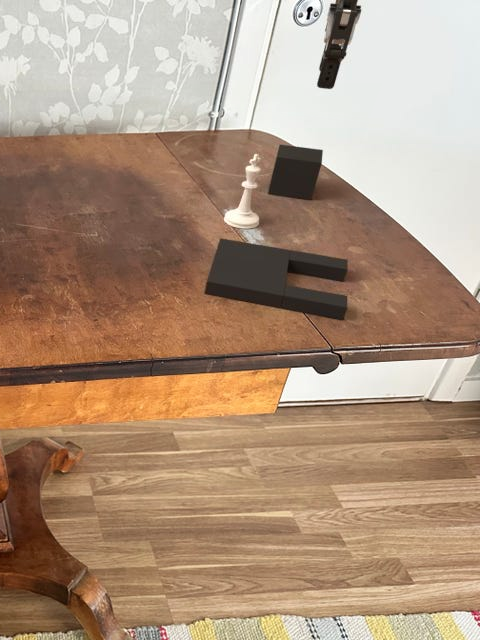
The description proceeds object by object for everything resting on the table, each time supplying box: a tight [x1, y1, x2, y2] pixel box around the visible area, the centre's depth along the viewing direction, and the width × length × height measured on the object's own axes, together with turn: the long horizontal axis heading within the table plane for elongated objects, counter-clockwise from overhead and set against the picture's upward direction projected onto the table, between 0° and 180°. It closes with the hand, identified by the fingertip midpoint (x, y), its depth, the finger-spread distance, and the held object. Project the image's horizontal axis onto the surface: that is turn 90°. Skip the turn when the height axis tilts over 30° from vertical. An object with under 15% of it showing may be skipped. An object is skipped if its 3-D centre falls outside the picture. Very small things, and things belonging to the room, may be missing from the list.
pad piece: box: [267, 144, 324, 201], centre depth 109 cm, size 6×6×6 cm
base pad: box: [204, 237, 349, 321], centre depth 88 cm, size 16×12×2 cm
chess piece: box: [223, 153, 262, 230], centre depth 99 cm, size 5×5×10 cm
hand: (325, 79), depth 101 cm, fingers open, 8 cm apart
